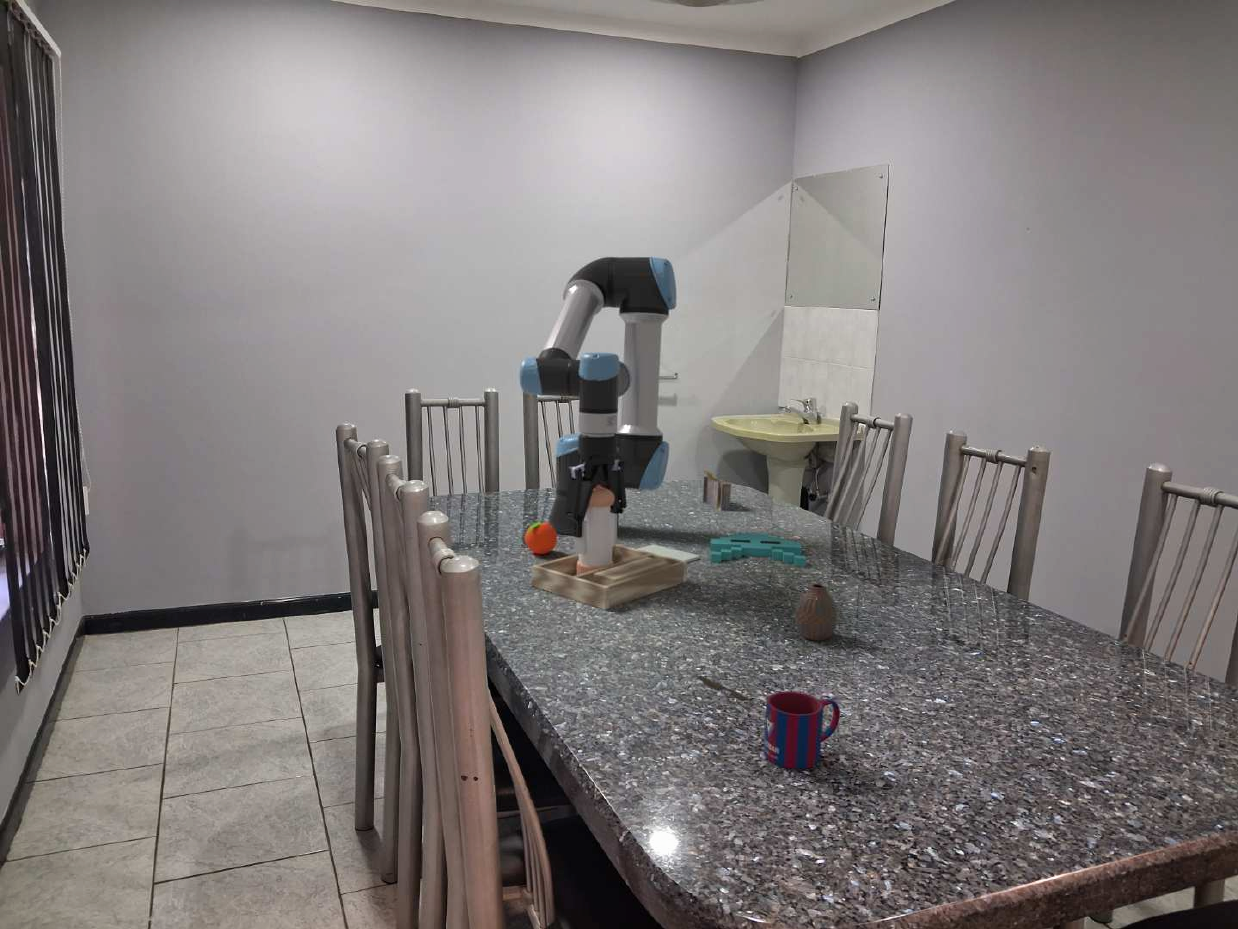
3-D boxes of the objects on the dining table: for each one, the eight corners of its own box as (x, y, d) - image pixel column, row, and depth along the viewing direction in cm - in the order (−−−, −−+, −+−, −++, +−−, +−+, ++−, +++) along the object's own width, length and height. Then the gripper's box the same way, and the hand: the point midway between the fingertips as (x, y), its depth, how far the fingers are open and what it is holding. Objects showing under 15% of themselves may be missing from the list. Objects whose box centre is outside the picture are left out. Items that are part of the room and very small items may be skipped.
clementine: (538, 560, 190) (539, 528, 188) (514, 554, 194) (515, 522, 192) (563, 553, 196) (564, 521, 195) (539, 547, 200) (540, 516, 199)
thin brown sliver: (759, 705, 124) (760, 702, 124) (745, 709, 122) (745, 706, 122) (703, 675, 133) (703, 672, 133) (689, 678, 132) (689, 676, 132)
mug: (754, 746, 111) (757, 694, 110) (824, 736, 114) (828, 685, 113) (780, 773, 105) (783, 718, 104) (854, 761, 108) (858, 708, 107)
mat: (615, 557, 193) (615, 555, 193) (653, 546, 203) (653, 544, 203) (662, 570, 185) (662, 567, 185) (699, 558, 194) (700, 555, 194)
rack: (531, 586, 172) (531, 566, 171) (614, 562, 190) (614, 543, 189) (604, 609, 160) (605, 588, 159) (686, 581, 178) (687, 561, 177)
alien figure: (805, 568, 190) (796, 544, 210) (806, 558, 190) (797, 535, 209) (710, 564, 192) (710, 540, 212) (710, 554, 192) (710, 531, 211)
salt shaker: (609, 586, 173) (611, 489, 170) (572, 583, 175) (574, 486, 171) (616, 575, 180) (619, 482, 177) (581, 572, 182) (583, 479, 178)
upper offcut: (593, 586, 167) (593, 573, 167) (646, 569, 179) (647, 556, 179) (613, 592, 164) (614, 579, 163) (666, 574, 176) (667, 561, 176)
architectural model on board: (701, 503, 251) (702, 469, 250) (711, 503, 252) (712, 469, 251) (719, 512, 241) (721, 476, 239) (729, 512, 242) (731, 476, 240)
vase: (838, 632, 152) (841, 582, 150) (834, 646, 145) (837, 594, 144) (797, 626, 154) (800, 577, 152) (791, 640, 147) (794, 589, 146)
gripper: (574, 441, 162) (572, 563, 166) (647, 431, 178) (644, 543, 182) (545, 436, 167) (544, 555, 171) (618, 427, 183) (616, 536, 187)
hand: (595, 548), depth 176 cm, fingers open, 8 cm apart
